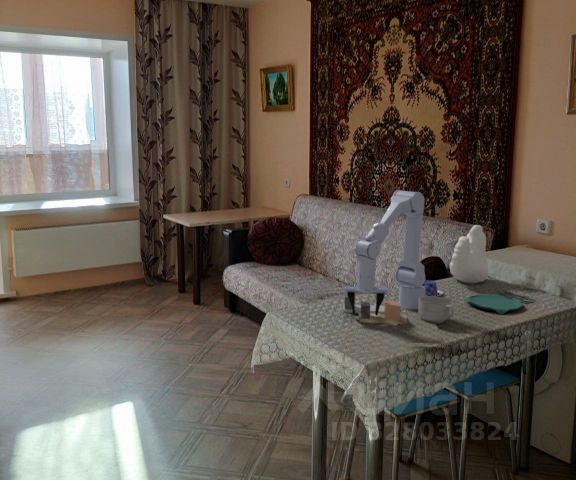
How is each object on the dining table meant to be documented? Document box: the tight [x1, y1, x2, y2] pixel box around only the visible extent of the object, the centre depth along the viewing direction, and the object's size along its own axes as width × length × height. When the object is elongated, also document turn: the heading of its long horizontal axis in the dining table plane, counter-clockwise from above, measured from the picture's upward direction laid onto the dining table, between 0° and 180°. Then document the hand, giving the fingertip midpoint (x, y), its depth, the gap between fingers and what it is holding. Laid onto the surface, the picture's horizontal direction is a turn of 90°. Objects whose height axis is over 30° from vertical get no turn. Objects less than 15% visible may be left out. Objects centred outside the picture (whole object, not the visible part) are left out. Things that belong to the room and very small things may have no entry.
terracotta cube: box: [383, 300, 401, 320], centre depth 197 cm, size 5×5×5 cm
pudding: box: [422, 279, 444, 297], centre depth 235 cm, size 12×12×5 cm
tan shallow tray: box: [358, 301, 409, 325], centre depth 197 cm, size 16×7×5 cm, turn 84°
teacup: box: [417, 295, 455, 325], centre depth 198 cm, size 14×11×8 cm
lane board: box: [343, 313, 398, 326], centre depth 203 cm, size 18×20×1 cm
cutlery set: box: [465, 290, 539, 315], centre depth 222 cm, size 20×30×2 cm, turn 127°
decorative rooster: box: [449, 224, 489, 284], centre depth 251 cm, size 25×16×25 cm, turn 126°
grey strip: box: [342, 293, 384, 314], centre depth 208 cm, size 16×7×5 cm, turn 84°
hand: (365, 314), depth 198 cm, fingers open, 7 cm apart
